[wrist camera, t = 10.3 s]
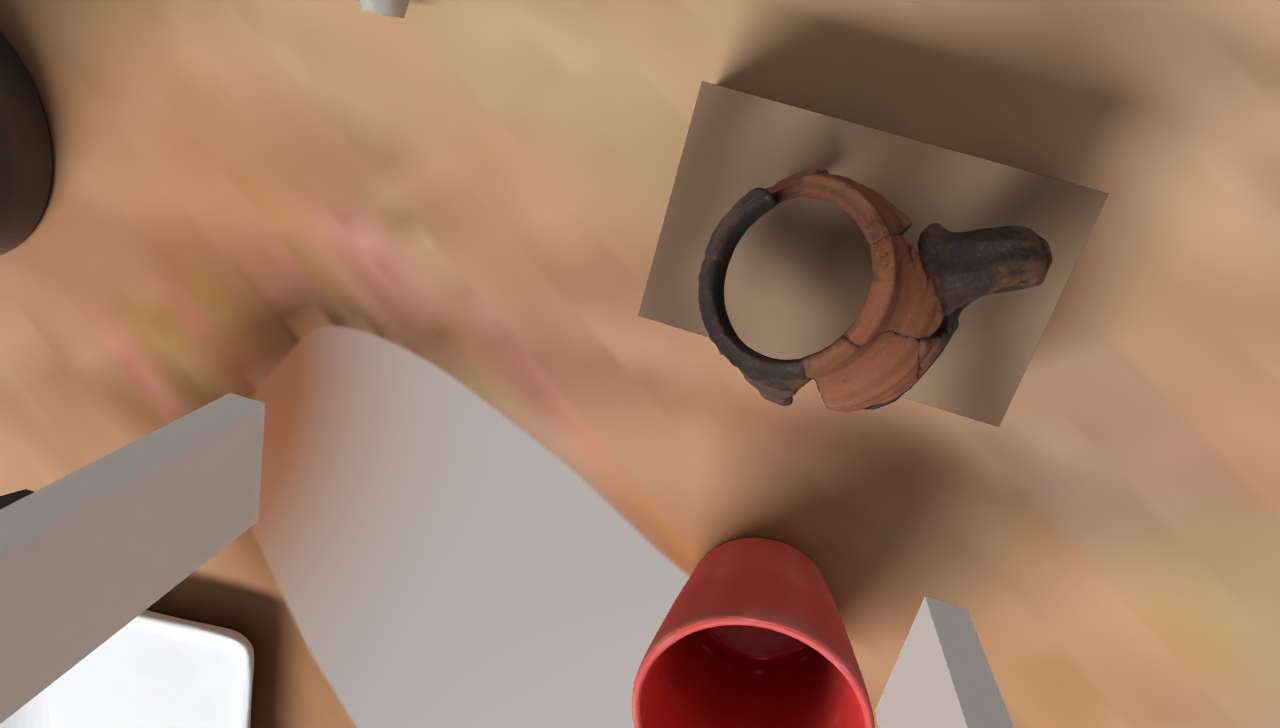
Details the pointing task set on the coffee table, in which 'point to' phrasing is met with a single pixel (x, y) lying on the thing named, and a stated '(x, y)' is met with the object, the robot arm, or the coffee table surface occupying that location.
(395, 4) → the bunny figurine
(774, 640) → the flower pot
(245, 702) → the salad plate
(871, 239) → the pottery mug
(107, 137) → the coffee table surface
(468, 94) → the coffee table surface
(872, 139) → the walnut block
